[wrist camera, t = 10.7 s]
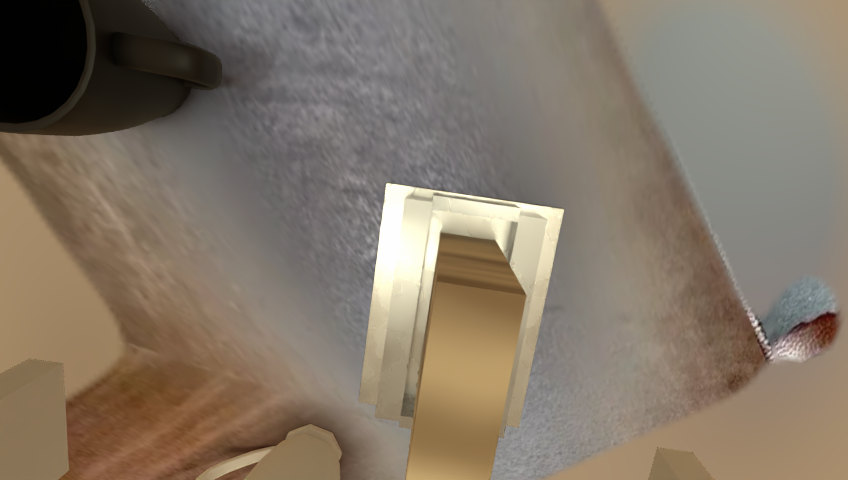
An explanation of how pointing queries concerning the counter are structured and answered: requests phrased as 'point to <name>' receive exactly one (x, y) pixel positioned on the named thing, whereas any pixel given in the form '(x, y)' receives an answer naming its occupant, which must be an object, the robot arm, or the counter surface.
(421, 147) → the counter surface
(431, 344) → the wooden block
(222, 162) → the counter surface
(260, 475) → the cup
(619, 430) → the counter surface
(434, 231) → the beige piece
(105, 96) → the mug
